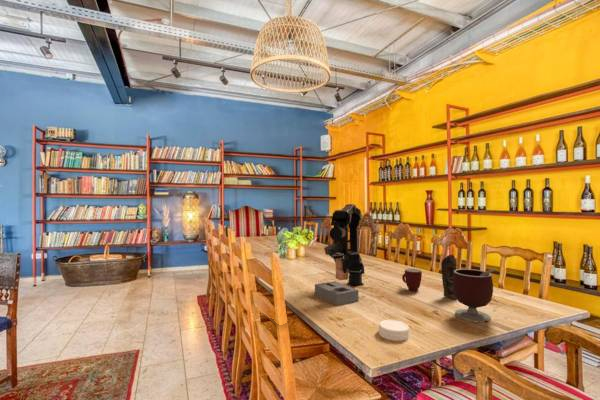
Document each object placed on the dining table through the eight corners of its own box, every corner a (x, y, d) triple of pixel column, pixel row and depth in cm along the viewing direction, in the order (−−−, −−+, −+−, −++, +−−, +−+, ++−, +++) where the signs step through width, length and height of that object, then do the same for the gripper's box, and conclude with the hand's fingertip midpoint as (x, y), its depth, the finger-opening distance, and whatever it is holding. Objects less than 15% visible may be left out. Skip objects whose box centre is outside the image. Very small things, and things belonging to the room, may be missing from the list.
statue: (454, 300, 140) (453, 256, 141) (440, 296, 147) (440, 253, 147) (463, 298, 144) (463, 254, 144) (450, 294, 150) (449, 252, 150)
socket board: (335, 291, 156) (335, 281, 156) (358, 301, 140) (358, 290, 140) (314, 294, 150) (314, 284, 150) (336, 305, 134) (336, 294, 134)
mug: (397, 288, 159) (397, 269, 159) (406, 286, 164) (406, 267, 164) (416, 293, 151) (416, 273, 151) (424, 290, 156) (424, 270, 156)
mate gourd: (445, 313, 124) (444, 263, 124) (466, 307, 131) (465, 260, 131) (484, 327, 110) (483, 271, 110) (505, 320, 117) (505, 267, 117)
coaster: (379, 327, 111) (379, 317, 111) (408, 330, 108) (408, 320, 108) (378, 339, 102) (377, 329, 102) (410, 343, 99) (410, 332, 99)
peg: (342, 277, 144) (342, 257, 144) (348, 279, 140) (348, 259, 140) (335, 278, 142) (335, 258, 142) (341, 280, 138) (340, 260, 138)
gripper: (315, 236, 145) (315, 270, 145) (339, 241, 129) (339, 278, 129) (335, 235, 151) (335, 267, 150) (360, 239, 134) (360, 275, 134)
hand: (341, 272), depth 141 cm, fingers closed on peg, 4 cm apart
